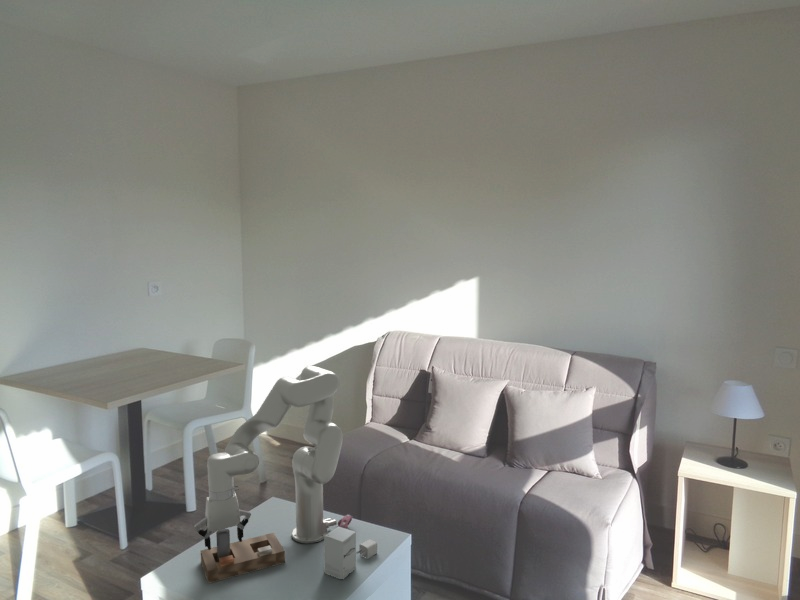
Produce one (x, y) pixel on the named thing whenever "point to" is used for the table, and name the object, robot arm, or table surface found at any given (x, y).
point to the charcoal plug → (223, 543)
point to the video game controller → (345, 521)
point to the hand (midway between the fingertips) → (224, 543)
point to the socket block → (243, 557)
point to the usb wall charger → (367, 548)
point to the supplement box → (340, 552)
